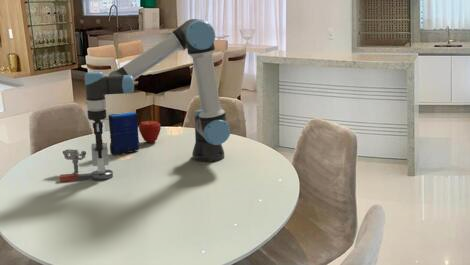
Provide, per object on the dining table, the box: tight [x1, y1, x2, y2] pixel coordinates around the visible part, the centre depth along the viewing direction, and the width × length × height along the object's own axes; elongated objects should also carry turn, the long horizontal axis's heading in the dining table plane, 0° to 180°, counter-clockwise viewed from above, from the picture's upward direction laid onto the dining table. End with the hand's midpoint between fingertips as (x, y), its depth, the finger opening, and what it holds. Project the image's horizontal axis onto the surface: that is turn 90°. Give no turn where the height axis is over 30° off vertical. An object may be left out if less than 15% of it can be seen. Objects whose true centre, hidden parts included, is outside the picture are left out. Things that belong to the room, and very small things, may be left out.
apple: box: [138, 119, 162, 144], centre depth 292 cm, size 11×11×12 cm
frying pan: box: [59, 165, 114, 183], centre depth 237 cm, size 22×9×8 cm, turn 103°
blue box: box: [108, 111, 140, 156], centre depth 273 cm, size 14×5×20 cm, turn 122°
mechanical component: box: [62, 149, 87, 174], centre depth 245 cm, size 3×10×10 cm, turn 79°
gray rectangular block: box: [91, 142, 109, 167], centre depth 237 cm, size 6×6×8 cm
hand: (100, 162), depth 238 cm, fingers closed on gray rectangular block, 6 cm apart
